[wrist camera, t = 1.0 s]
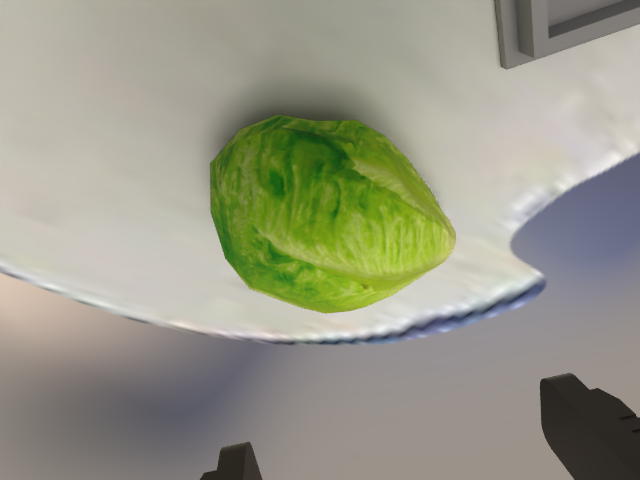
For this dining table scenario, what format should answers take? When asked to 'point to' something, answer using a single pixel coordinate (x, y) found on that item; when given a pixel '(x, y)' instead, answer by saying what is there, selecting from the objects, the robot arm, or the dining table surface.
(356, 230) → the lettuce
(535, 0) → the grey shallow square tray
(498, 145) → the dining table surface
